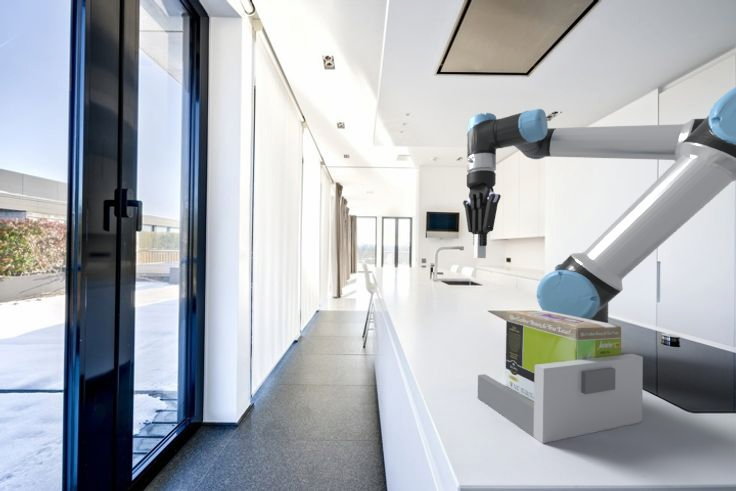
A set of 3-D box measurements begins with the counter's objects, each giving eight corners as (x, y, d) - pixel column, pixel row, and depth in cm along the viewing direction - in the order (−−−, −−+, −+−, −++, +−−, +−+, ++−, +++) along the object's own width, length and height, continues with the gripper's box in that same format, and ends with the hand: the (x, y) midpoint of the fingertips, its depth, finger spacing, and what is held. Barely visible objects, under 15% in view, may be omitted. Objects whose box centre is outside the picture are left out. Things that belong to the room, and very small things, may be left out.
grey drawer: (563, 385, 61) (563, 334, 62) (646, 423, 48) (647, 358, 48) (477, 398, 55) (478, 340, 55) (546, 446, 42) (547, 370, 42)
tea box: (623, 419, 49) (624, 324, 50) (575, 428, 46) (577, 327, 47) (543, 380, 64) (544, 307, 64) (502, 386, 61) (504, 309, 61)
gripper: (455, 176, 92) (454, 257, 91) (485, 165, 79) (484, 258, 79) (477, 179, 94) (476, 257, 93) (509, 168, 82) (508, 258, 81)
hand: (479, 257), depth 86 cm, fingers closed
